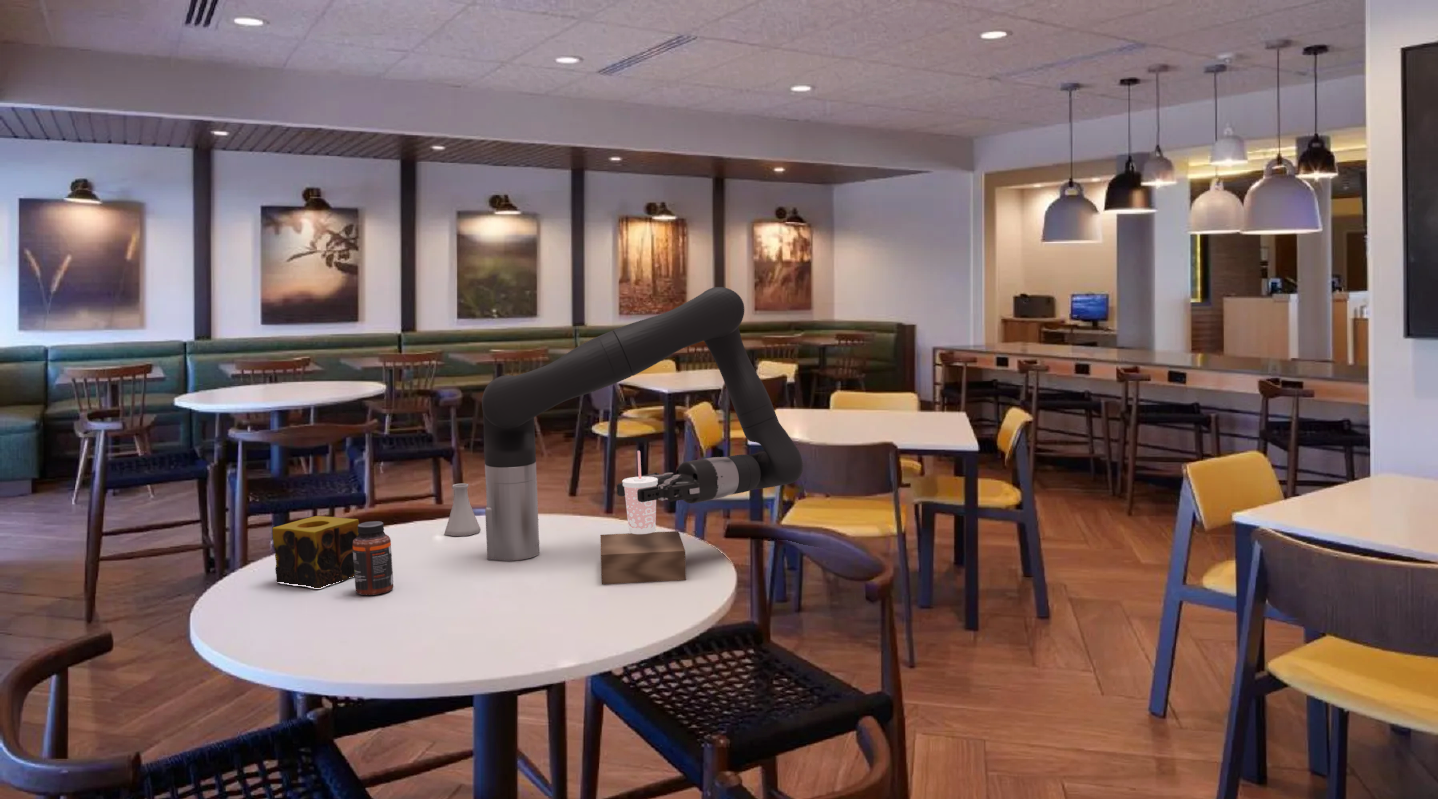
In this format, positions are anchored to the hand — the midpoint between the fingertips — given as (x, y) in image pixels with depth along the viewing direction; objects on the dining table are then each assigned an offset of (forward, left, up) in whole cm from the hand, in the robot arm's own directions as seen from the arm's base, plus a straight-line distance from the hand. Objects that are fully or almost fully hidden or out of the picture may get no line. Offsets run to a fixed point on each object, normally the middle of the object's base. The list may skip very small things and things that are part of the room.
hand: (628, 493), depth 169 cm
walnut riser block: (+2, +1, -14) cm, 14 cm away
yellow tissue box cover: (-53, +6, -14) cm, 55 cm away
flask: (-33, +36, -14) cm, 51 cm away
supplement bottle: (-42, -3, -14) cm, 44 cm away
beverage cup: (+2, +1, -7) cm, 8 cm away
